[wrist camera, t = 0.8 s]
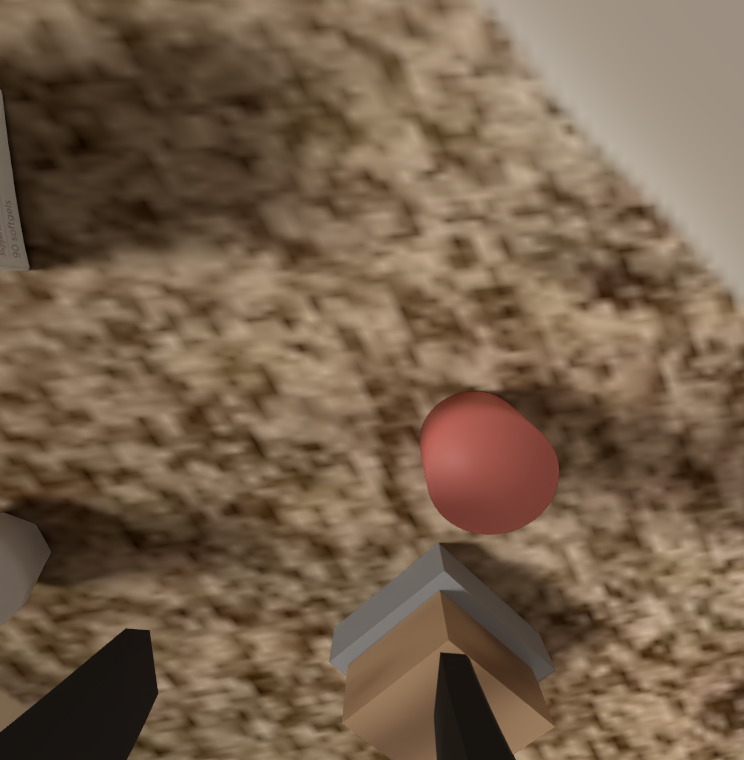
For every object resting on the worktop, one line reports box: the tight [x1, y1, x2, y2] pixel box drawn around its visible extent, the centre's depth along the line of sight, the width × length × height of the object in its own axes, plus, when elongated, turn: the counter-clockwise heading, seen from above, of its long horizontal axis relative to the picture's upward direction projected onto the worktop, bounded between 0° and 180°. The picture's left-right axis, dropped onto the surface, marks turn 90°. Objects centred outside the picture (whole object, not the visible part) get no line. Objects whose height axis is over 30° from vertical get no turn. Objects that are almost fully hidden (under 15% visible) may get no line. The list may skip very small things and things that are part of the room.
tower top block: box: [342, 590, 555, 760], centre depth 17 cm, size 6×6×2 cm
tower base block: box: [329, 543, 555, 682], centre depth 19 cm, size 8×8×2 cm
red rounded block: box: [419, 391, 559, 535], centre depth 15 cm, size 5×5×4 cm
